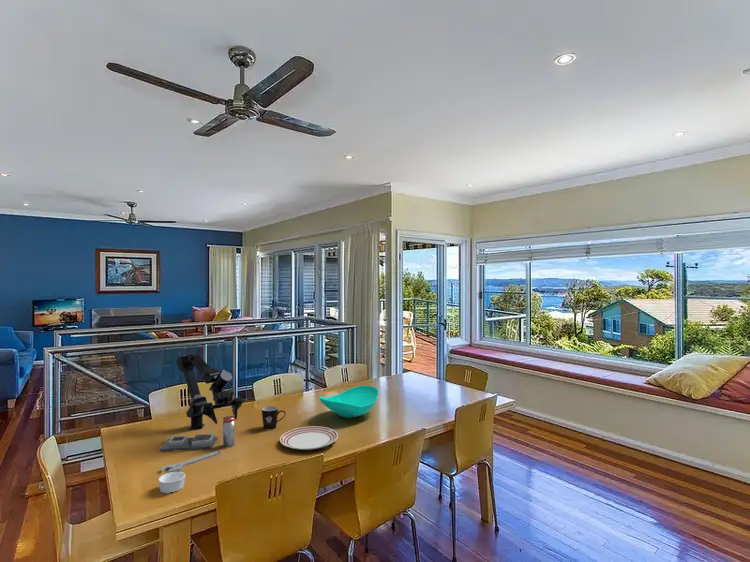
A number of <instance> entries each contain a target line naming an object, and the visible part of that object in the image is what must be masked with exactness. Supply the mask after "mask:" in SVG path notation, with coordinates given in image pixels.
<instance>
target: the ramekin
mask: <svg viewBox="0 0 750 562" xmlns="http://www.w3.org/2000/svg"><path fill="white" fill-rule="evenodd" d="M185 479H186V474H185V472H183V471H178V472H170V473H168V472H167V473H164V474H162V475H160V476H159V477H158V483H159V484H158V486H159V491H160V493H163V494H171V493H170V492H174V493H176V492H175V491H177V492H179V491H181V490H182V489H183V488H184V486H185ZM181 488H182V489H181ZM180 489H181V490H180ZM178 490H179V491H178Z"/></svg>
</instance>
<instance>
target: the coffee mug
mask: <svg viewBox="0 0 750 562" xmlns="http://www.w3.org/2000/svg"><path fill="white" fill-rule="evenodd" d="M281 412H283V414H284V415H283V417H281V418H280V419H278V415H280V413H281ZM261 416H262V426H263V427H262V428H263V429H264V430H266V429H271V430H274V428H275V429H276V428H277V425H278V422H280V421H281V420H283V419H284V418H285V417H286V411H285V410H282V409H281V410H279V407H278V406H276V405H267V406H263V407H262V408H261Z"/></svg>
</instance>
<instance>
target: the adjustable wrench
mask: <svg viewBox="0 0 750 562" xmlns="http://www.w3.org/2000/svg"><path fill="white" fill-rule="evenodd" d="M219 454H222V451H221V450H216V451H212V452H210V453H206V454H203V455H202V456H198V457H195V458H192V459H188V460H187V461H186V460H185V461H183V462H179V463H173V464H168V465H165V466H162V467H161V469H160V473H161V474H163V473H165V472H166V471H167V473H170V472H177V471H178V472H181V471H182V469H183V468H182V467H184V466H186V465H189V464H192V465H194V464H193V463H195V462H198V461H201V460H204V459H206V460H208V459H207V458H209V459H211V458H210V457H212V458H214V457H213V456H215V457H217V456H216V455H218V456H220V455H219ZM204 461H205V460H204ZM201 462H202V461H201ZM198 463H199V462H198ZM195 464H196V463H195ZM189 466H190V465H189ZM186 467H187V466H186ZM170 468H171V469H170ZM181 468H182V469H181ZM184 468H185V467H184ZM162 472H163V473H162Z"/></svg>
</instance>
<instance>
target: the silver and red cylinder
mask: <svg viewBox="0 0 750 562" xmlns="http://www.w3.org/2000/svg"><path fill="white" fill-rule="evenodd" d="M222 420H223V422H222V423H223V424H222V448H224V447H230V448H232V446H233V447H234V446H235V427H236V426H235V421H236V420H235V417H234V415H226V416H224V417H222Z"/></svg>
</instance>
